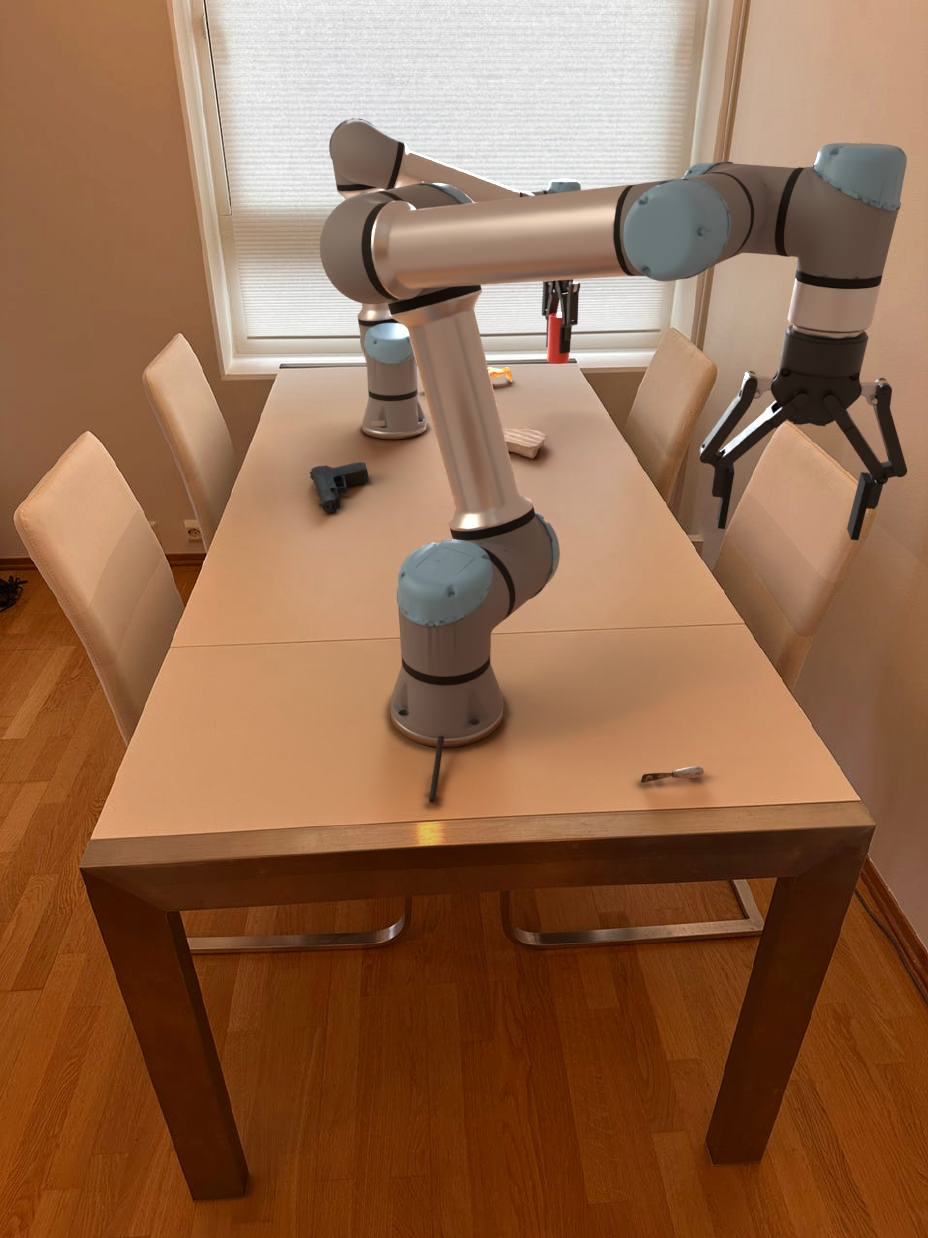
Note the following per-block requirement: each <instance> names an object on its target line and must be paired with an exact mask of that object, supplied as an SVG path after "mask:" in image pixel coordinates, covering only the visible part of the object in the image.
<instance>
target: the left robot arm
mask: <svg viewBox="0 0 928 1238" xmlns="http://www.w3.org/2000/svg"><path fill="white" fill-rule="evenodd" d="M328 148H329V149H328V150H329V151H328V152H329V156H330V159H331V161H332V168H333V173H334V180H335V186H336V191H337V193H338V194H339V195H340V196H342V197H343V198H344V201H345V200H347V199H348V198H351V197H353V196H356V195H359V194H364V193H369V192H377V191H383V190H388V189H393V188H399V187H404V186H409V185H412V184H419V183H422V182H424V183H442V184H448V185H451V186H453V187H456V188H457V189H459V190H460V191H461V192H463V193H465V194H466V195H467V196H468V197H469V198H470V199H471V200H472V201H473V202H474V203H475V202H484V201H493V200H501V199H510V198H519V197H528V196H536V195H545V194H554V193H562V192H571V191H580V190H582V186H581V183H580V181H579V180H577V179H572V178H557V179H551V180H550V181H549V182H548V187H547V189H542V190H518V189H515V188H512V187H510V186H507V185H504V184H502V183H499V182H496V181H493V180H491V179H488V178H485V177H482V176H480V175H477V174H474V173H472V172H469V171H467V170H464V169H461V168H459V167H455V166H453V165H450V164H447V163H445V162H442V161H439V160H437V159H434V158H431V157H428V156H425V155H422V154H420V153H417V152H414V151H412V150H409V148H408V146H407V144H406V143H405V142H403V141H400V140H398V139H395V138H392V137H391V136H389V135H388V134H386V133H384V132H382V131H381V130H380V129H378V128H377V127H376V126H375V125H374V124H373V123H372V122H370V121H368V120H366V119H364V118H360V117H358V118H355V117H352V118H349V119H344V120H343V121H342V122H340V123H339V124H338V125H337V126H336V127H335V128H334V130H333V131H332V133H331V135H330V137H329V144H328ZM580 290H581V282H576V281H575V280H574V279H571V280H554V281H542V298H541V299H542V301H541V316H543V317H545V319H544V320H545V321H546V328H545V329H546V340H545V348H547V349H548V325H549V314H550V313H554V312H558V309H559V305H560V312H561V314H562V324H563V325H560V345H559V353H560V354H562V353H568V352H569V353H571V343H572V342H571V341H572V330H573V329H572V328H573V327H574V326H577V325H579V296H580V294H579V293H580ZM566 321H567V322H566ZM357 322H358V328H359V335H360V339H359V342H360V348H361V351H362V353H363V356H364V360H365V362H366V364H365V365H366V375H367V376H366V377H367V378H366V379H367V390H368V391H367V392H368V399H367V403H366V407H365V411H364V415H363V417H362V418H363V419H362V431H363V433H365V435H367V436H370V437H373V438H376V439H383V440H402V439H403V440H404V439H409V438H413V437H417V436H419V435H421V434H423V433H424V432H425V431H426V430H427V419H426V414H425V412H424V409H423V407H422V404H421V401H420V399H419V398H420V397H419V388H418V387H419V386H418V367H417V363H416V359H415V356H414V352H413V348H412V345H411V341H410V337H409V333H408V330H407V328H406V327H405V326H404V325H403V324H401V323H400V322H398V321H397V320H395V319H393V318H392V317H391V314H390V311H389V307H388V304H387V303H380V304H364V303H361V310H360V311H359V312H358V313H357Z"/></svg>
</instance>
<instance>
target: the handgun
mask: <svg viewBox="0 0 928 1238" xmlns="http://www.w3.org/2000/svg"><path fill="white" fill-rule="evenodd" d="M309 475H310V476H309V478H310V479H311V480H312V481H313V484H314V488H315V490H316V493H317V496H318V498H319V502H320V503H319V504H317V505H318V507H320V508H322V511H324V513H326V514H330V513H336V510H337V508H338V509H340V508H341V501H340V496H339V495H341V494H346V493H347V492H348V490H347V489H348V488H347V487H351V486H355V485H359V484H363V483H369V470H368V465H367V463H366V462H363V461H358V462H352V463H348V464H344V465H340V466H337V467H331V466H329V465H318V466H314V467H313V468H311V470H310V471H309Z"/></svg>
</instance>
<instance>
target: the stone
mask: <svg viewBox="0 0 928 1238" xmlns="http://www.w3.org/2000/svg"><path fill="white" fill-rule="evenodd" d="M502 428H503V432H504V436H505V440H506V444H507V448H508V452H511V453H516V454H518V455H521V456H524V457H527V458H529V459H534V458H535V457H536V456H537V455H538V450H539V449H540V448H541V447H542V445H544V444H545V441H546V439H547V435H546V434H545V433H542V432H541V430H540V429H538V430H537V429H531V428H522V427H520V428H509V427H508V428H506V427H505V428H504V427H502Z"/></svg>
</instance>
